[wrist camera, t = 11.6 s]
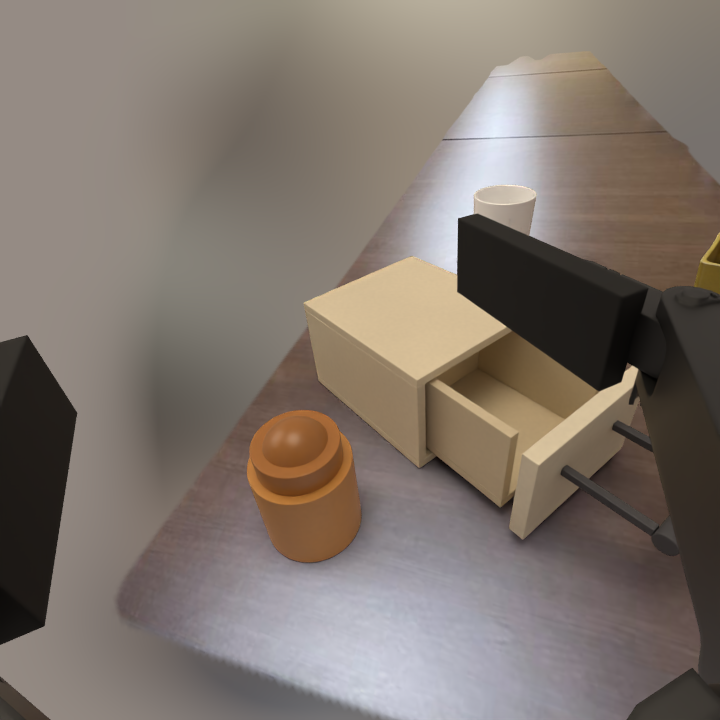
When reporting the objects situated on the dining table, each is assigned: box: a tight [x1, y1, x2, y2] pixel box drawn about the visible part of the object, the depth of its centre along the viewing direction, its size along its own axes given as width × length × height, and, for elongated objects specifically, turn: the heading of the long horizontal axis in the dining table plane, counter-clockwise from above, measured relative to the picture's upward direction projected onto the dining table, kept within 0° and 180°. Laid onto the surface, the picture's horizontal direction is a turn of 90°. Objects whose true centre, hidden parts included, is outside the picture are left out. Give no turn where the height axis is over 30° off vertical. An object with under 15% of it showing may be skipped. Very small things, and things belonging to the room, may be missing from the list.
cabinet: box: [304, 256, 512, 468], centre depth 43 cm, size 16×14×10 cm
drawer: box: [425, 331, 679, 556], centre depth 34 cm, size 22×12×8 cm, turn 37°
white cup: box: [474, 185, 537, 236], centre depth 63 cm, size 8×8×10 cm
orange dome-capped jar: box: [247, 410, 361, 562], centre depth 32 cm, size 7×7×10 cm
